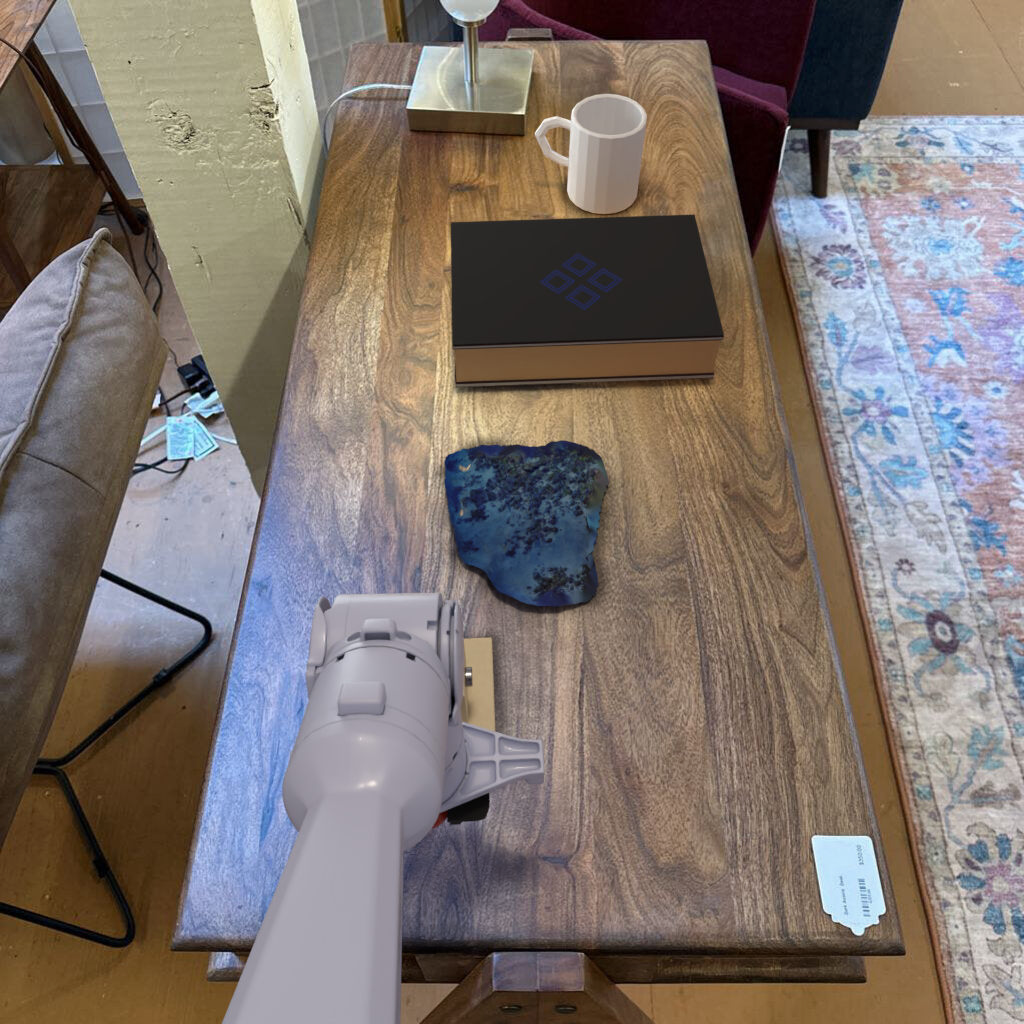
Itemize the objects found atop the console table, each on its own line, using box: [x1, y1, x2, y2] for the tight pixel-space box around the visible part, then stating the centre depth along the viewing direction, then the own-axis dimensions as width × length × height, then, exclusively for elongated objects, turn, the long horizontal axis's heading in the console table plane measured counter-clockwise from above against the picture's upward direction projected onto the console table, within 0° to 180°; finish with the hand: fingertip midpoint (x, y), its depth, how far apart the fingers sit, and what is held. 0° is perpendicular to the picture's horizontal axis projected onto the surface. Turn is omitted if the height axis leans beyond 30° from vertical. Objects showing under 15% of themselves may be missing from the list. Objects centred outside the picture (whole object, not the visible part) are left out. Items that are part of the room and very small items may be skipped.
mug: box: [534, 93, 648, 215], centre depth 103 cm, size 8×12×10 cm
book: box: [450, 214, 725, 389], centre depth 92 cm, size 17×25×7 cm
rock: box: [443, 439, 610, 608], centre depth 80 cm, size 15×17×2 cm
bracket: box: [460, 637, 496, 732], centre depth 68 cm, size 11×9×8 cm
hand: (429, 810), depth 60 cm, fingers closed on lever, 3 cm apart
